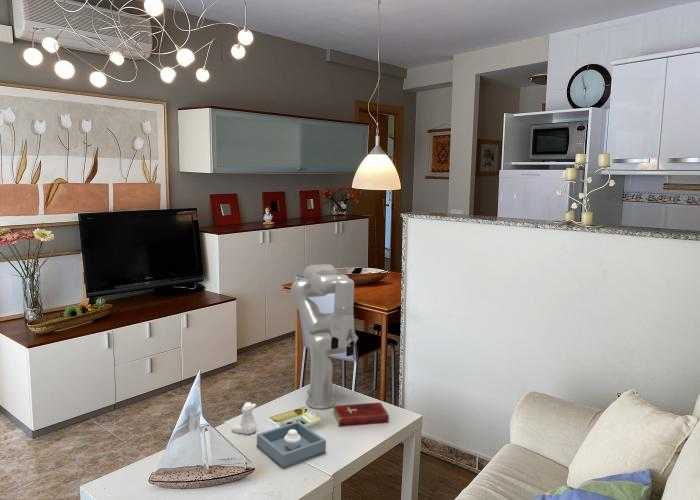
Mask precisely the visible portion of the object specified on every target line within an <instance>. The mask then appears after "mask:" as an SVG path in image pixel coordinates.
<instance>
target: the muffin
mask: <svg viewBox="0 0 700 500" xmlns="http://www.w3.org/2000/svg"><path fill="white" fill-rule="evenodd" d="M284 441H285V444H286V446H287V448H288V449H290V450H294V449H296V448H297V446H298V445H299V443H300V441H301V437H300V435H299V434H298V433H297V431H296V430H294V429H291V430H289V431H288V434H287V435H286V436H285V437H284Z"/></svg>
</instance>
